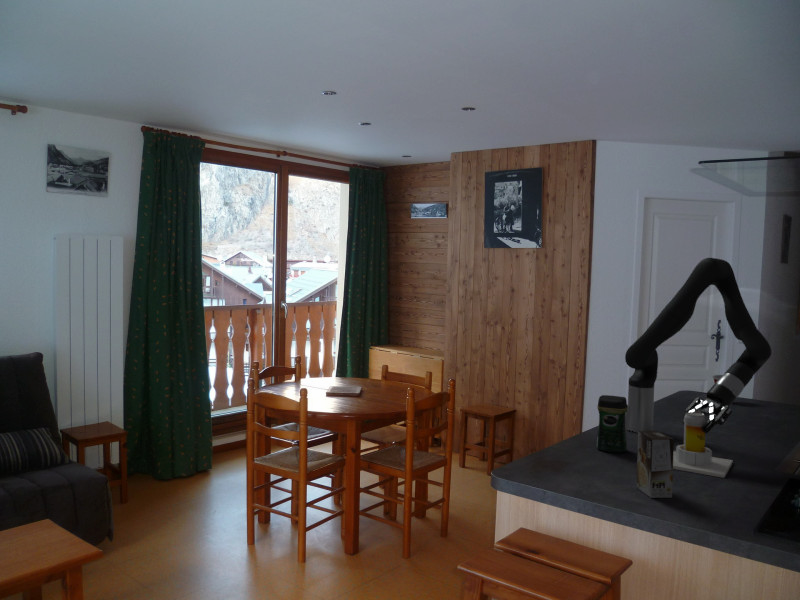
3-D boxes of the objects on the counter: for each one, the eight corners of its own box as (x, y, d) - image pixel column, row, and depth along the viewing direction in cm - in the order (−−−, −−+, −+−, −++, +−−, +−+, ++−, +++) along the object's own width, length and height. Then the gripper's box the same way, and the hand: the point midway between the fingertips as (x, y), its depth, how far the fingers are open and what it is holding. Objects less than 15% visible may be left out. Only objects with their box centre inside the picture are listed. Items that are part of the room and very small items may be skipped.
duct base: (653, 465, 200) (654, 449, 200) (666, 452, 215) (666, 437, 215) (724, 477, 189) (724, 461, 189) (732, 463, 204) (733, 447, 204)
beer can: (706, 464, 199) (708, 416, 198) (686, 463, 200) (687, 415, 199) (701, 458, 205) (702, 412, 204) (681, 457, 206) (682, 411, 205)
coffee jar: (628, 449, 219) (629, 395, 218) (624, 454, 212) (625, 399, 211) (599, 445, 224) (600, 392, 223) (594, 450, 217) (595, 396, 216)
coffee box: (673, 498, 171) (675, 438, 171) (650, 498, 171) (652, 439, 170) (656, 486, 181) (658, 430, 180) (635, 487, 180) (636, 430, 179)
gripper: (702, 379, 210) (672, 415, 208) (736, 386, 197) (703, 425, 194) (715, 394, 212) (685, 430, 209) (749, 403, 198) (717, 441, 196)
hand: (694, 427), depth 202 cm, fingers open, 8 cm apart
